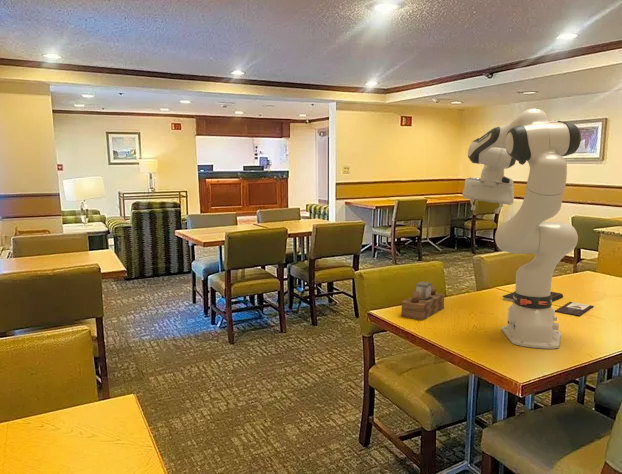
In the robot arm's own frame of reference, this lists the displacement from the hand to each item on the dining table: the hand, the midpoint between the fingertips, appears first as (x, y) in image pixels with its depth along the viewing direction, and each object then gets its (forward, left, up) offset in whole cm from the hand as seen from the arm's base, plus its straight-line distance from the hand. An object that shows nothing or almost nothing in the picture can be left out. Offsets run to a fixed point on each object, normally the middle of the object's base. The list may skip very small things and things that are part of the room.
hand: (484, 211), depth 196 cm
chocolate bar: (+1, -36, -40) cm, 54 cm away
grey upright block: (-20, +22, -36) cm, 47 cm away
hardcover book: (+14, -22, -40) cm, 48 cm away
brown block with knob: (-20, +22, -39) cm, 49 cm away
